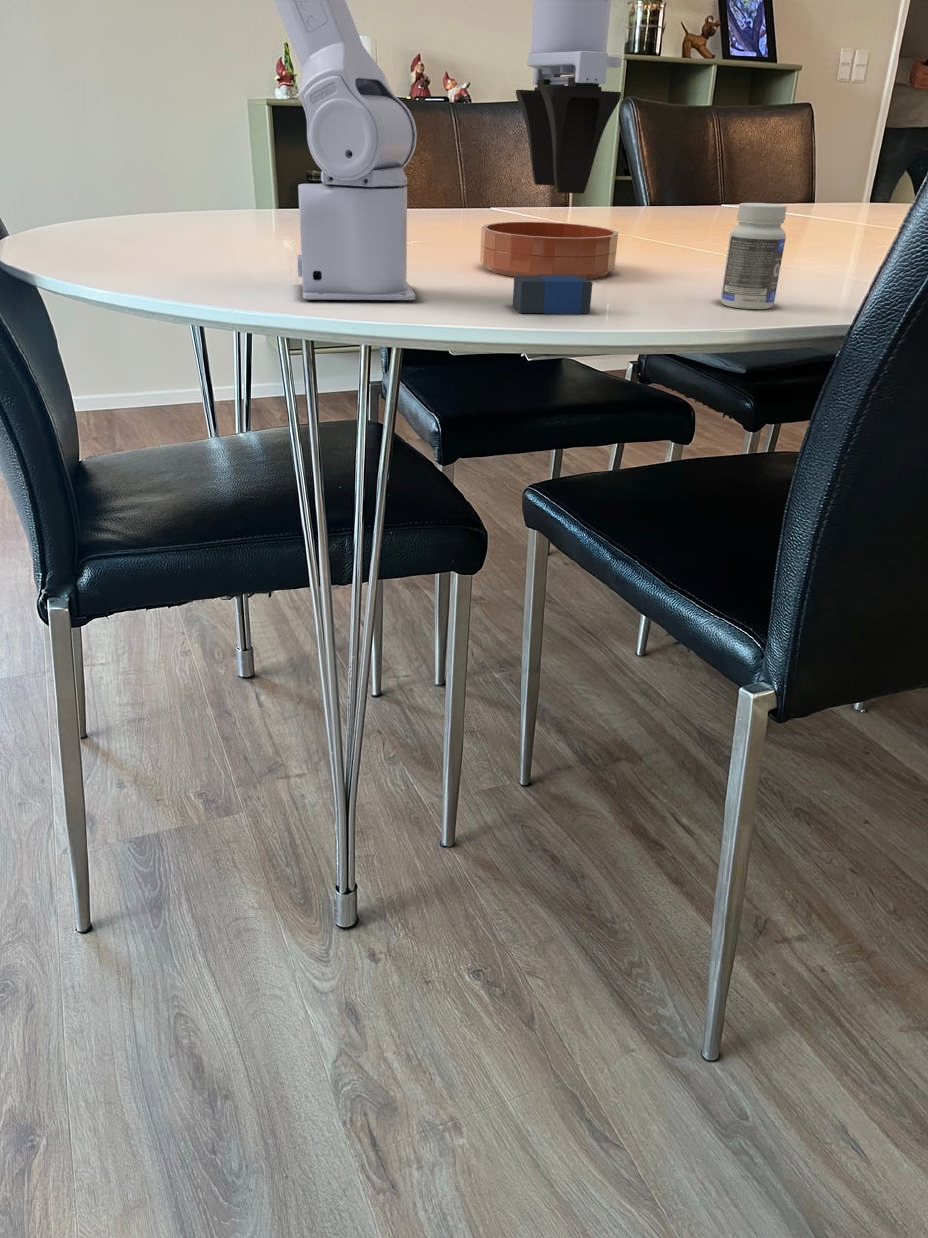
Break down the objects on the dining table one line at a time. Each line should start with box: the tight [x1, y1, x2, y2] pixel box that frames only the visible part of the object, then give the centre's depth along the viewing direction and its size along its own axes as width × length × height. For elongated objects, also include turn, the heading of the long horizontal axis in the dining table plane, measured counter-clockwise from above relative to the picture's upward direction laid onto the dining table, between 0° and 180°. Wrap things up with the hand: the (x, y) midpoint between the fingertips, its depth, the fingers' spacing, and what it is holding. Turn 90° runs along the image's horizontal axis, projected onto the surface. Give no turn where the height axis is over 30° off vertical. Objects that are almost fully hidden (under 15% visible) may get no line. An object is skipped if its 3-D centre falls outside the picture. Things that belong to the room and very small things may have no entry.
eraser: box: [512, 275, 593, 315], centre depth 80 cm, size 6×3×3 cm, turn 99°
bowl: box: [479, 221, 619, 280], centre depth 100 cm, size 14×14×4 cm
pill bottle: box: [720, 202, 787, 310], centre depth 85 cm, size 5×5×8 cm
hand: (558, 188), depth 77 cm, fingers open, 7 cm apart
